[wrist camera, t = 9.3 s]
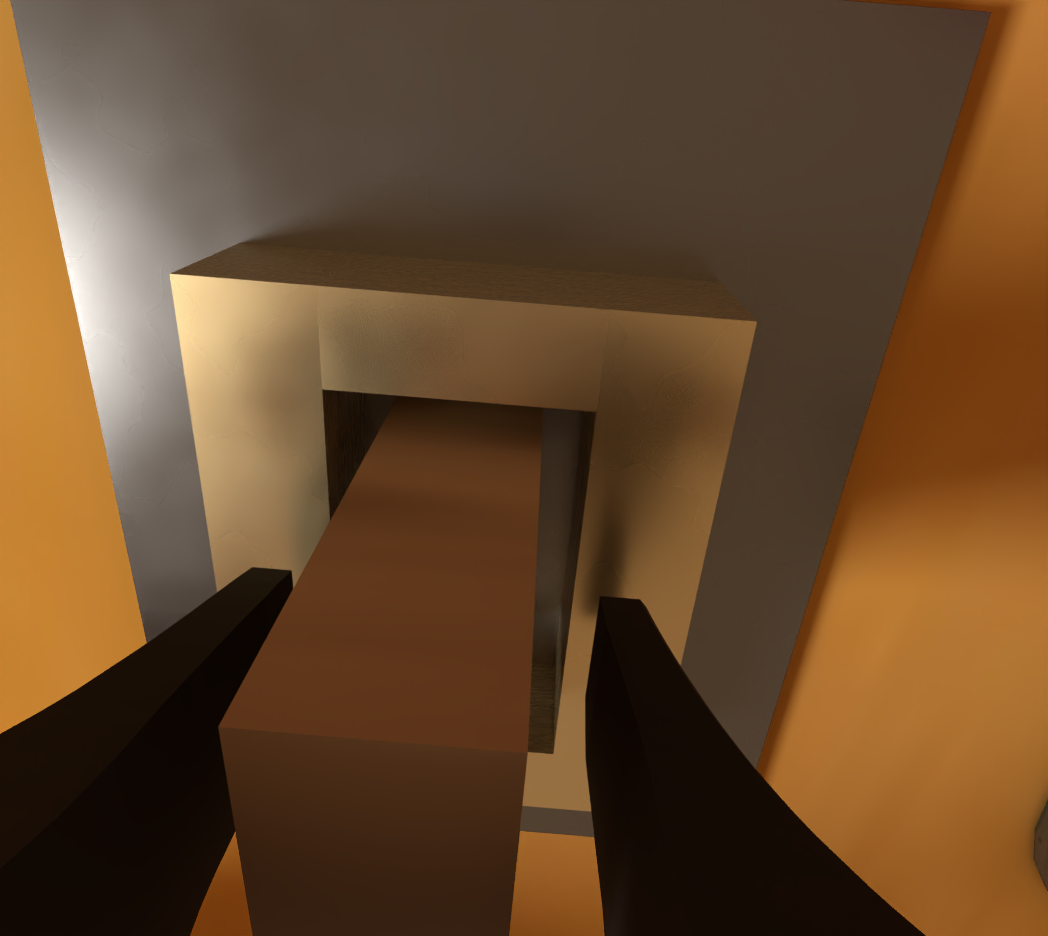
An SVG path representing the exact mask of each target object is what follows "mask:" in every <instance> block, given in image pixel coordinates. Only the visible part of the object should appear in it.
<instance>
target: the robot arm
mask: <svg viewBox="0 0 1048 936" xmlns="http://www.w3.org/2000/svg"><path fill="white" fill-rule="evenodd" d="M292 590H293V578H292V570H282V569H270V568H258V567H252V568H250V569H249V570H247V571H246V572H244V573H243V574H241V575H240V576H239V577H237V578H236V579H234V580H233V581H232V582H230V583H229V584H228V585H226V586H225V587H224V588H222V589H221V590H220V591H218V592H217V593H215V594H214V595H213V596H211V597H210V598H209V599H207V600H206V601H205V602H203V603H202V604H201V605H199V606H198V607H197V608H195V609H194V610H193V611H191V612H190V613H188V614H187V615H186V616H184V617H183V618H182V619H180V620H179V621H177V622H176V623H175V624H173V625H172V626H170V627H169V628H168V629H166V630H165V631H163V632H162V633H161V634H159V635H158V636H156V637H155V638H154V639H152V640H151V641H150V642H148V643H147V644H145V645H144V646H142V647H141V648H139V649H138V650H136V651H135V652H133V653H132V654H130V655H129V656H127V657H126V658H124V659H123V660H121V661H120V662H118V663H117V664H115V665H114V666H112V667H111V668H109V669H107V670H106V671H104V672H103V673H101V674H100V675H98V676H97V677H95V678H94V679H92V680H91V681H89V682H88V683H86V684H85V685H83V686H82V687H80V688H79V689H77V690H75V691H74V692H72V693H71V694H69V695H67V696H66V697H64V698H62V699H61V700H59V701H57V702H56V703H54V704H52V705H51V706H49V707H47V708H45V709H44V710H42V711H40V712H39V713H37V714H35V715H33V716H32V717H30V718H28V719H26V720H24V721H23V722H21V723H19V724H17V725H15V726H14V727H12V728H10V729H8V730H6V731H5V732H3V733H1V734H0V936H190V934H191V931H192V929H193V926H194V923H195V921H196V918H197V915H198V912H199V910H200V907H201V905H202V903H203V900H204V898H205V896H206V893H207V891H208V889H209V886H210V884H211V882H212V879H213V877H214V875H215V873H216V870H217V868H218V866H219V864H220V862H221V860H222V858H223V856H224V854H225V852H226V850H227V847H228V845H229V843H230V841H231V839H232V837H233V835H234V833H235V825H234V819H233V813H232V807H231V801H230V795H229V789H228V783H227V777H226V771H225V765H224V759H223V753H222V747H221V741H220V735H219V729H218V726H219V725H220V723H221V721H222V719H223V717H224V715H225V714H226V712H227V710H228V708H229V706H230V704H231V702H232V701H233V699H234V697H235V695H236V693H237V691H238V690H239V688H240V686H241V684H242V682H243V680H244V679H245V677H246V675H247V673H248V671H249V669H250V668H251V666H252V664H253V662H254V660H255V658H256V656H257V655H258V653H259V651H260V649H261V647H262V645H263V644H264V642H265V640H266V638H267V636H268V634H269V633H270V631H271V629H272V627H273V625H274V623H275V621H276V620H277V618H278V616H279V614H280V612H281V610H282V609H283V607H284V605H285V603H286V601H287V599H288V598H289V596H290V594H291V592H292ZM585 759H586V769H587V778H588V787H589V795H590V804H591V813H592V821H593V830H594V839H595V847H596V856H597V864H598V873H599V881H600V890H601V898H602V907H603V919H604V932H605V936H925V935H924V934H923V933H922V932H921V931H919V930H918V929H917V928H916V927H915V926H914V925H912V924H911V923H910V922H909V921H908V920H906V919H905V918H904V917H903V916H902V915H901V914H899V913H898V912H897V911H896V910H895V909H894V908H892V907H891V906H890V905H889V904H888V903H887V902H886V901H885V900H883V899H882V898H881V897H880V896H879V895H878V894H877V893H876V892H875V891H873V890H872V889H871V888H870V887H869V886H868V885H867V884H866V883H865V882H864V881H863V880H862V879H861V878H860V877H859V876H858V875H857V874H855V873H854V872H853V871H852V870H851V869H850V868H849V867H848V866H847V865H846V864H845V863H844V862H843V861H842V860H841V859H840V858H839V857H838V856H837V855H836V854H835V853H833V852H832V851H831V850H830V849H829V848H828V847H827V846H826V845H825V844H824V843H823V842H822V841H821V840H820V839H819V838H818V837H817V836H816V835H815V834H814V833H813V832H812V831H811V830H810V829H809V828H808V827H807V826H806V825H805V824H804V823H803V822H802V821H801V820H800V818H799V817H798V816H797V815H796V814H795V813H794V812H793V811H792V810H791V809H790V808H789V807H788V806H787V804H786V803H785V802H784V801H783V800H782V799H781V798H780V797H779V795H778V794H777V793H776V792H775V791H774V790H773V789H772V788H771V786H770V785H769V784H768V783H767V782H766V781H765V779H764V778H763V777H762V776H761V775H760V774H759V772H758V771H757V770H756V769H755V768H754V766H753V765H752V764H751V763H750V761H749V760H748V759H747V758H746V756H745V755H744V754H743V753H742V751H741V750H740V749H739V748H738V746H737V745H736V744H735V742H734V741H733V740H732V738H731V737H730V736H729V735H728V733H727V732H726V731H725V729H724V728H723V727H722V725H721V724H720V723H719V721H718V720H717V718H716V717H715V716H714V714H713V713H712V712H711V710H710V709H709V707H708V706H707V704H706V703H705V702H704V700H703V699H702V697H701V696H700V694H699V693H698V691H697V690H696V688H695V687H694V685H693V684H692V682H691V681H690V679H689V678H688V677H687V675H686V673H685V672H684V670H683V669H682V667H681V666H680V664H679V663H678V661H677V659H676V658H675V656H674V654H673V653H672V651H671V649H670V648H669V646H668V645H667V643H666V641H665V640H664V638H663V636H662V634H661V633H660V631H659V629H658V627H657V626H656V624H655V622H654V620H653V618H652V617H651V615H650V613H649V611H648V609H647V607H646V606H645V605H644V603H643V602H642V601H641V600H640V599H630V598H618V597H606V596H600V599H599V606H598V613H597V620H596V627H595V633H594V640H593V647H592V654H591V660H590V667H589V674H588V681H587V688H586V694H585Z"/></svg>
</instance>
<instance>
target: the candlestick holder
mask: <svg viewBox="0 0 1048 936" xmlns="http://www.w3.org/2000/svg"><path fill="white" fill-rule="evenodd" d="M1034 861H1035V864H1036V867H1037V869H1038V871H1039V873H1040V876H1041V878H1042V880H1043V883H1044V885H1045V887H1046V889H1047V891H1048V801H1047V804H1046V806H1045V808H1044V810H1043V812H1042V814H1041V817H1040V819H1039V821H1038V823H1037V825H1036V827H1035V841H1034Z"/></svg>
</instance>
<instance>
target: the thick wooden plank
mask: <svg viewBox="0 0 1048 936" xmlns="http://www.w3.org/2000/svg"><path fill="white" fill-rule="evenodd" d="M542 428H543V407H531V406H519V405H507V404H495V403H483V402H470V401H458V400H446V399H434V398H422V397H409V396H398V397H397V399H396V401H395V402H394V404H393V406H392V408H391V410H390V412H389V413H388V415H387V417H386V419H385V421H384V423H383V424H382V426H381V428H380V430H379V432H378V434H377V436H376V437H375V439H374V441H373V443H372V445H371V447H370V448H369V450H368V452H367V454H366V456H365V458H364V459H363V461H362V463H361V465H360V467H359V469H358V471H357V472H356V474H355V476H354V478H353V480H352V482H351V483H350V485H349V487H348V489H347V491H346V493H345V494H344V496H343V498H342V500H341V502H340V504H339V505H338V507H337V509H336V511H335V513H334V515H333V517H332V518H331V520H330V522H329V524H328V526H327V528H326V529H325V531H324V533H323V535H322V537H321V539H320V540H319V542H318V544H317V546H316V548H315V550H314V552H313V553H312V555H311V557H310V559H309V561H308V563H307V564H306V566H305V568H304V570H303V572H302V574H301V575H300V577H299V579H298V581H297V583H296V585H295V587H294V588H293V590H292V592H291V594H290V596H289V598H288V599H287V601H286V603H285V605H284V607H283V609H282V610H281V612H280V614H279V616H278V618H277V620H276V621H275V623H274V625H273V627H272V629H271V631H270V633H269V634H268V636H267V638H266V640H265V642H264V644H263V645H262V647H261V649H260V651H259V653H258V655H257V656H256V658H255V660H254V662H253V664H252V666H251V668H250V669H249V671H248V673H247V675H246V677H245V679H244V680H243V682H242V684H241V686H240V688H239V690H238V691H237V693H236V695H235V697H234V699H233V701H232V702H231V704H230V706H229V708H228V710H227V712H226V714H225V715H224V717H223V719H222V721H221V723H220V725H219V726H218V729H219V735H220V741H221V747H222V753H223V759H224V765H225V771H226V777H227V783H228V789H229V795H230V801H231V807H232V813H233V819H234V825H235V831H236V837H237V843H238V849H239V855H240V861H241V867H242V873H243V879H244V885H245V891H246V897H247V903H248V909H249V915H250V921H251V927H252V933H253V936H509V929H510V920H511V910H512V901H513V891H514V881H515V872H516V862H517V852H518V843H519V833H520V824H521V814H522V804H523V795H524V785H525V775H526V766H527V756H528V738H529V716H530V694H531V672H532V650H533V627H534V605H535V583H536V561H537V539H538V517H539V495H540V472H541V450H542Z"/></svg>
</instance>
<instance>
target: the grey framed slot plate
mask: <svg viewBox="0 0 1048 936" xmlns="http://www.w3.org/2000/svg"><path fill="white" fill-rule="evenodd" d="M10 1H11V6H12V10H13V15H14V20H15V25H16V29H17V34H18V39H19V43H20V48H21V53H22V57H23V62H24V67H25V72H26V76H27V81H28V86H29V90H30V95H31V100H32V105H33V109H34V114H35V119H36V123H37V128H38V133H39V137H40V142H41V147H42V152H43V156H44V161H45V166H46V170H47V175H48V180H49V185H50V189H51V194H52V199H53V203H54V208H55V213H56V217H57V222H58V227H59V232H60V236H61V241H62V246H63V250H64V255H65V260H66V265H67V269H68V274H69V279H70V283H71V288H72V293H73V297H74V302H75V307H76V312H77V316H78V321H79V326H80V330H81V335H82V340H83V345H84V349H85V354H86V359H87V363H88V368H89V373H90V378H91V382H92V387H93V392H94V396H95V401H96V406H97V410H98V415H99V420H100V425H101V429H102V434H103V439H104V443H105V448H106V453H107V458H108V462H109V467H110V472H111V476H112V481H113V486H114V490H115V495H116V500H117V505H118V509H119V514H120V519H121V523H122V528H123V533H124V538H125V542H126V547H127V552H128V556H129V561H130V566H131V570H132V575H133V580H134V585H135V589H136V594H137V599H138V603H139V608H140V613H141V618H142V622H143V627H144V632H145V636H146V641H147V643H148V642H150V641H151V640H152V639H154V638H155V637H156V636H158V635H159V634H161V633H162V632H163V631H165V630H166V629H168V628H169V627H170V626H172V625H173V624H175V623H176V622H177V621H179V620H180V619H182V618H183V617H184V616H186V615H187V614H188V613H190V612H191V611H193V610H194V609H195V608H197V607H198V606H199V605H201V604H202V603H203V602H205V601H206V600H207V599H209V598H210V597H211V596H213V595H214V594H215V593H217V592H218V591H220V590H221V589H222V588H224V587H225V586H226V585H228V584H229V583H230V582H232V581H233V580H234V579H236V578H237V577H239V576H240V575H241V574H243V573H244V572H246V571H247V570H249V569H250V568H252V567H258V568H270V569H282V570H292V578H293V588H294V587H295V585H296V583H297V581H298V579H299V577H300V575H301V574H302V572H303V570H304V568H305V566H306V564H307V563H308V561H309V559H310V557H311V555H312V553H313V552H314V550H315V548H316V546H317V544H318V542H319V540H320V539H321V537H322V535H323V533H324V531H325V529H326V528H327V526H328V524H329V522H330V520H331V518H332V517H333V515H334V513H335V511H336V509H337V507H338V505H339V504H340V502H341V500H342V498H343V496H344V494H345V493H346V491H347V489H348V487H349V485H350V483H351V482H352V480H353V478H354V476H355V474H356V472H357V471H358V469H359V467H360V465H361V463H362V461H363V459H364V458H365V456H366V454H367V452H368V450H369V448H370V447H371V445H372V443H373V441H374V439H375V437H376V436H377V434H378V432H379V430H380V428H381V426H382V424H383V423H384V421H385V419H386V417H387V415H388V413H389V412H390V410H391V408H392V406H393V404H394V402H395V401H396V399H397V397H398V396H409V397H422V398H434V399H446V400H458V401H470V402H483V403H495V404H507V405H519V406H531V407H543V428H542V450H541V472H540V495H539V517H538V539H537V561H536V583H535V605H534V627H533V650H532V672H531V694H530V716H529V738H528V756H527V766H526V775H525V785H524V795H523V804H522V814H521V824H520V831H529V832H541V833H553V834H565V835H577V836H588V837H594V830H593V821H592V813H591V804H590V795H589V787H588V778H587V769H586V759H585V694H586V688H587V681H588V674H589V667H590V660H591V654H592V647H593V640H594V633H595V627H596V620H597V613H598V606H599V599H600V596H606V597H618V598H630V599H640V600H641V601H642V602H643V603H644V605H645V606H646V607H647V609H648V611H649V613H650V615H651V617H652V618H653V620H654V622H655V624H656V626H657V627H658V629H659V631H660V633H661V634H662V636H663V638H664V640H665V641H666V643H667V645H668V646H669V648H670V649H671V651H672V653H673V654H674V656H675V658H676V659H677V661H678V663H679V664H680V666H681V667H682V669H683V670H684V672H685V673H686V675H687V677H688V678H689V679H690V681H691V682H692V684H693V685H694V687H695V688H696V690H697V691H698V693H699V694H700V696H701V697H702V699H703V700H704V702H705V703H706V704H707V706H708V707H709V709H710V710H711V712H712V713H713V714H714V716H715V717H716V718H717V720H718V721H719V723H720V724H721V725H722V727H723V728H724V729H725V731H726V732H727V733H728V735H729V736H730V737H731V738H732V740H733V741H734V742H735V744H736V745H737V746H738V748H739V749H740V750H741V751H742V753H743V754H744V755H745V756H746V758H747V759H748V760H749V761H750V763H751V764H752V765H753V766H754V768H755V769H756V768H757V765H758V761H759V758H760V755H761V752H762V749H763V745H764V742H765V739H766V736H767V732H768V729H769V726H770V723H771V720H772V716H773V713H774V710H775V707H776V703H777V700H778V697H779V694H780V691H781V687H782V684H783V681H784V678H785V674H786V671H787V668H788V665H789V662H790V658H791V655H792V652H793V649H794V645H795V642H796V639H797V636H798V633H799V629H800V626H801V623H802V620H803V616H804V613H805V610H806V607H807V604H808V600H809V597H810V594H811V591H812V587H813V584H814V581H815V578H816V575H817V571H818V568H819V565H820V562H821V558H822V555H823V552H824V549H825V546H826V542H827V539H828V536H829V533H830V529H831V526H832V523H833V520H834V517H835V513H836V510H837V507H838V504H839V500H840V497H841V494H842V491H843V488H844V484H845V481H846V478H847V475H848V471H849V468H850V465H851V462H852V459H853V455H854V452H855V449H856V446H857V442H858V439H859V436H860V433H861V430H862V426H863V423H864V420H865V417H866V413H867V410H868V407H869V404H870V401H871V397H872V394H873V391H874V388H875V384H876V381H877V378H878V375H879V372H880V368H881V365H882V362H883V359H884V355H885V352H886V349H887V346H888V343H889V339H890V336H891V333H892V330H893V326H894V323H895V320H896V317H897V314H898V310H899V307H900V304H901V301H902V297H903V294H904V291H905V288H906V285H907V281H908V278H909V275H910V272H911V268H912V265H913V262H914V259H915V256H916V252H917V249H918V246H919V243H920V239H921V236H922V233H923V230H924V227H925V223H926V220H927V217H928V214H929V210H930V207H931V204H932V201H933V198H934V194H935V191H936V188H937V185H938V181H939V178H940V175H941V172H942V169H943V165H944V162H945V159H946V156H947V152H948V149H949V146H950V143H951V140H952V136H953V133H954V130H955V127H956V123H957V120H958V117H959V114H960V111H961V107H962V104H963V101H964V98H965V94H966V91H967V88H968V85H969V82H970V78H971V75H972V72H973V69H974V65H975V62H976V59H977V56H978V53H979V49H980V46H981V43H982V40H983V36H984V33H985V30H986V27H987V24H988V20H989V17H990V14H991V12H984V11H971V10H959V9H946V8H933V7H921V6H908V5H896V4H883V3H871V2H858V1H845V0H10Z"/></svg>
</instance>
